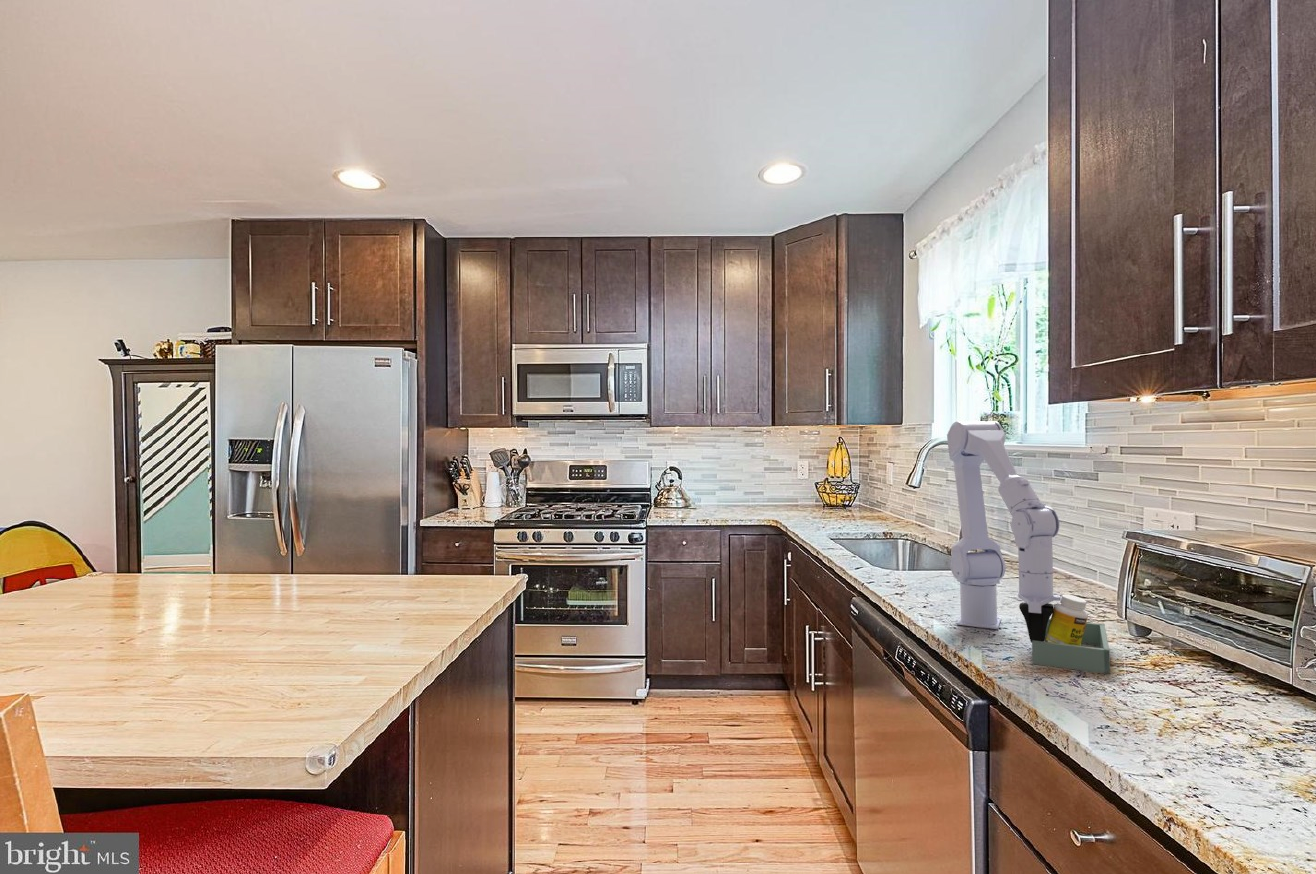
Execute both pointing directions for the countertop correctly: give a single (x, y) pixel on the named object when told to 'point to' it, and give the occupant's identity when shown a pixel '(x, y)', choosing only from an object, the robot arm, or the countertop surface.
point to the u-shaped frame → (1076, 651)
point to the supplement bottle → (1068, 621)
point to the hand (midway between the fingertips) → (1037, 642)
